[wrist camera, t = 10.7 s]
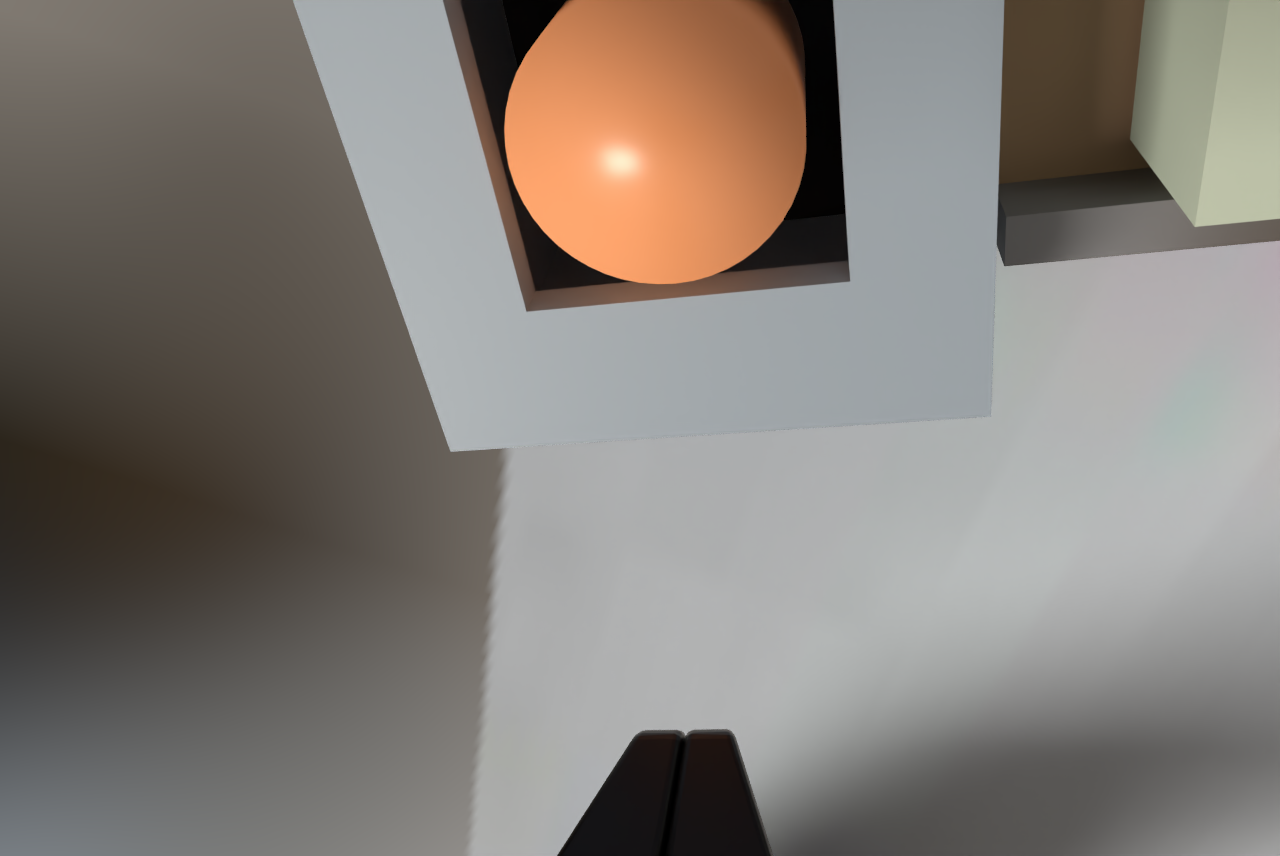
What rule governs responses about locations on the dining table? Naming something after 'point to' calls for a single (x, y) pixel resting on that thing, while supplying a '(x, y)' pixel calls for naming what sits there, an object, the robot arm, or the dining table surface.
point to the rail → (1083, 142)
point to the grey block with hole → (696, 310)
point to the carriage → (1211, 106)
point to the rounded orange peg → (660, 132)
